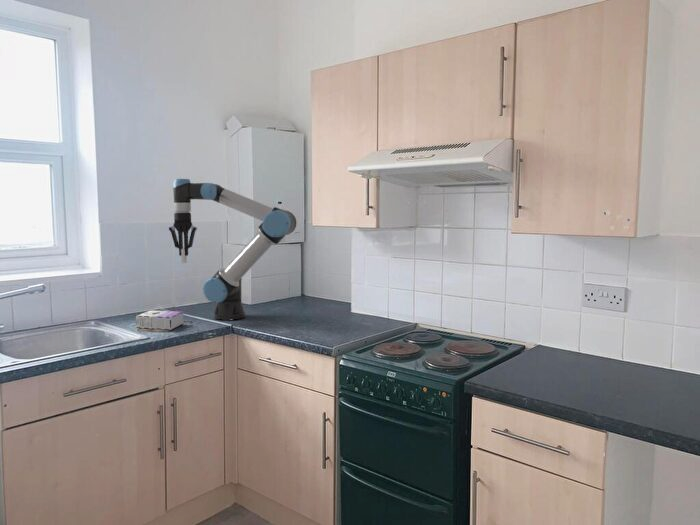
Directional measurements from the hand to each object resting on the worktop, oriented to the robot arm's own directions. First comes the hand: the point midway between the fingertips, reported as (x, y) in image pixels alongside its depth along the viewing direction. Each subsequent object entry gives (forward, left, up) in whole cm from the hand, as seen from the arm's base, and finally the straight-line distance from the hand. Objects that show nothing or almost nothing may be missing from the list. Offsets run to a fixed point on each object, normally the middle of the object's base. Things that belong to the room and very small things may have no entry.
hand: (184, 262), depth 262 cm
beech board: (+6, +13, -28) cm, 32 cm away
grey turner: (+4, +1, -28) cm, 29 cm away
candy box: (-2, +13, -25) cm, 28 cm away
